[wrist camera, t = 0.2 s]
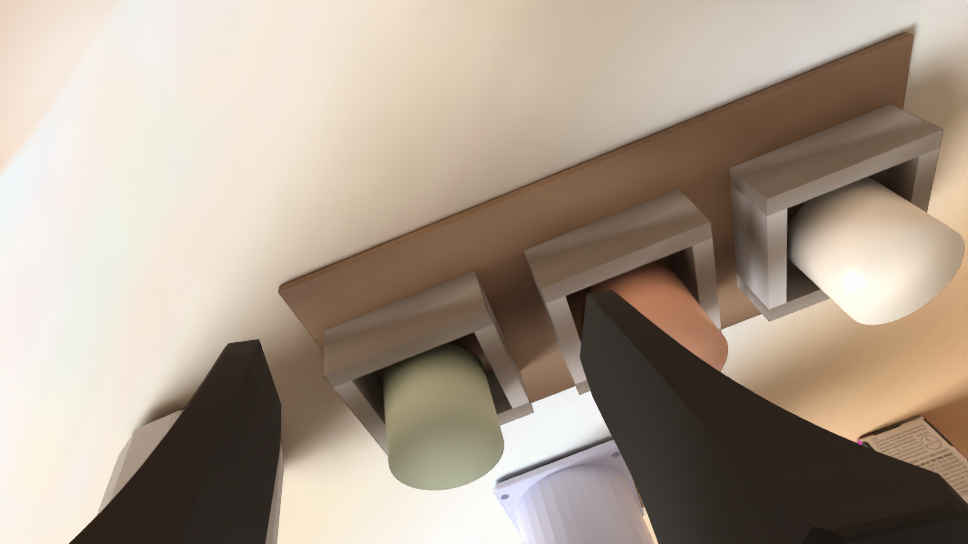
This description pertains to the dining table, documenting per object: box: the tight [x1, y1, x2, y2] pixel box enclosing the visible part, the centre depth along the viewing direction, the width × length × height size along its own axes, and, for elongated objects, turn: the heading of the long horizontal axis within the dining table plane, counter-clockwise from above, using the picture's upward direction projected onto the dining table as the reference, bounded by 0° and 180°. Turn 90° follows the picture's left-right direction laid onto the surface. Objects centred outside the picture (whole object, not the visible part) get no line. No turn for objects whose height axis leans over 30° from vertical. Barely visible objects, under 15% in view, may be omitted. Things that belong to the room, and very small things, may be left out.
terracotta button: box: [581, 262, 728, 371], centre depth 23 cm, size 4×4×4 cm
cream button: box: [787, 177, 965, 325], centre depth 22 cm, size 4×4×4 cm
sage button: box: [383, 344, 504, 490], centre depth 23 cm, size 4×4×4 cm
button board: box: [278, 32, 944, 455], centre depth 25 cm, size 12×26×3 cm, turn 109°
